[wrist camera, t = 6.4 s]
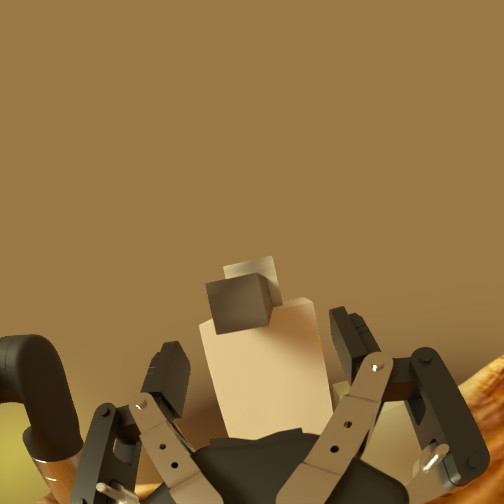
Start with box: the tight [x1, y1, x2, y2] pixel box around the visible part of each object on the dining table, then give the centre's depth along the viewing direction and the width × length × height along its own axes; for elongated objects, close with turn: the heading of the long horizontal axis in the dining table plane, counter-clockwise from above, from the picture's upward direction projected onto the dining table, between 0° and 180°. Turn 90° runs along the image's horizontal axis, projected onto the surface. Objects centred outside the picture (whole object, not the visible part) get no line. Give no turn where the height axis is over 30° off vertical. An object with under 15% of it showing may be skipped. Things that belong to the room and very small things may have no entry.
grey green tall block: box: [333, 380, 422, 486], centre depth 20 cm, size 8×9×22 cm
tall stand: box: [199, 297, 333, 440], centre depth 25 cm, size 10×9×32 cm
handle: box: [206, 256, 283, 335], centre depth 23 cm, size 5×17×5 cm, turn 175°
